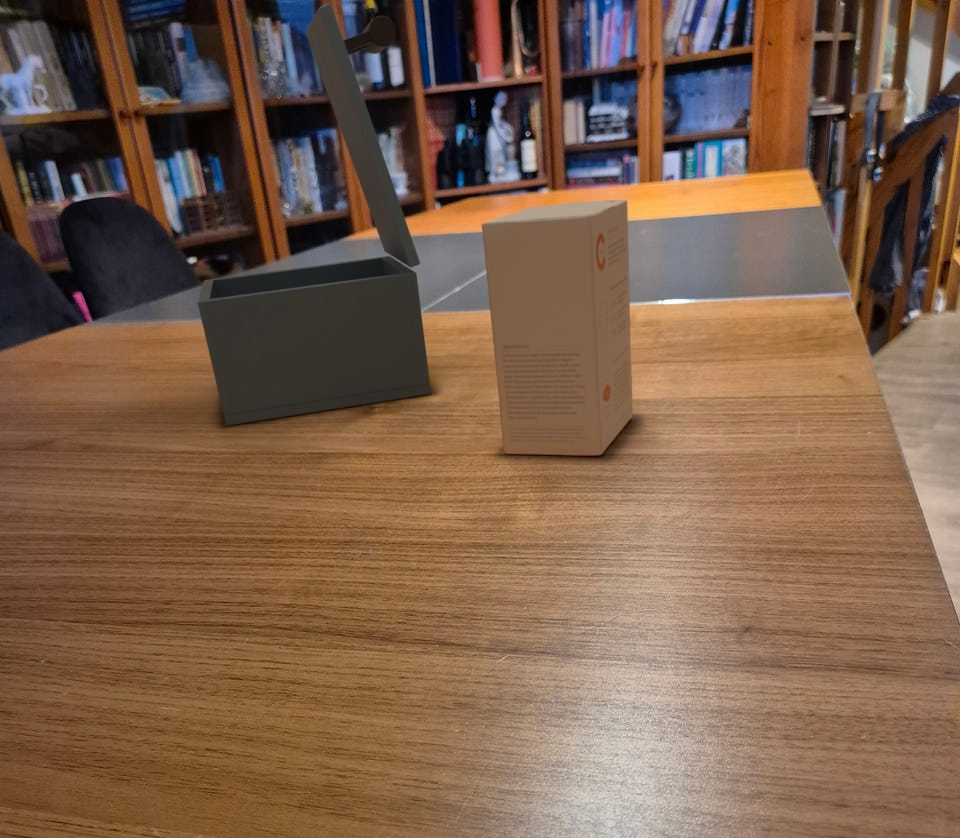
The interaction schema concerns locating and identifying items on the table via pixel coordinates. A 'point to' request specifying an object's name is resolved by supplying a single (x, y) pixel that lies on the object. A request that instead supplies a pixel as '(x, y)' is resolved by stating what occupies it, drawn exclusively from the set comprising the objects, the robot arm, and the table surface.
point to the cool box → (314, 338)
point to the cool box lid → (361, 122)
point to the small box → (561, 325)
